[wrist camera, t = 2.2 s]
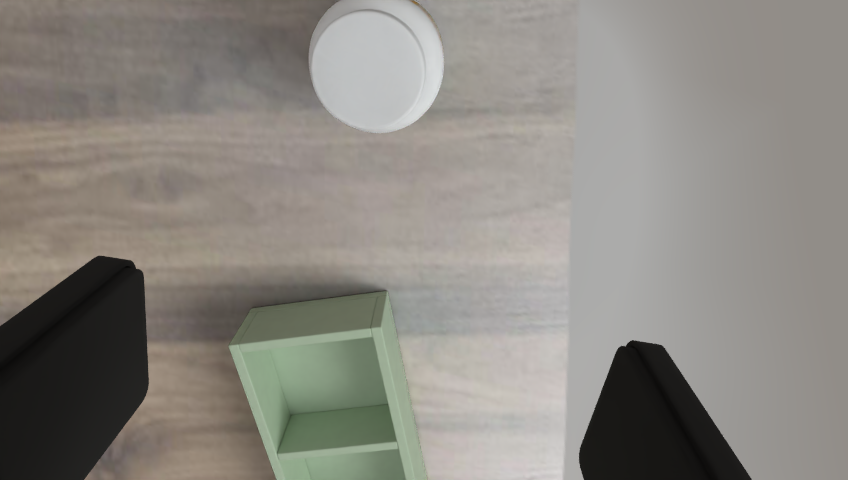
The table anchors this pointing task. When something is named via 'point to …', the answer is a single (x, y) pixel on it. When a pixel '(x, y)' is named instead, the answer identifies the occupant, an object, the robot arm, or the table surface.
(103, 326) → the robot arm
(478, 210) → the table surface
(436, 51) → the supplement bottle
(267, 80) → the table surface
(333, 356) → the tray
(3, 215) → the table surface
